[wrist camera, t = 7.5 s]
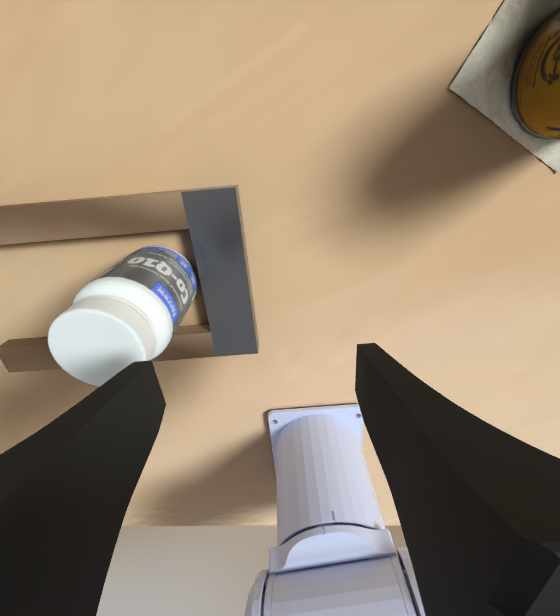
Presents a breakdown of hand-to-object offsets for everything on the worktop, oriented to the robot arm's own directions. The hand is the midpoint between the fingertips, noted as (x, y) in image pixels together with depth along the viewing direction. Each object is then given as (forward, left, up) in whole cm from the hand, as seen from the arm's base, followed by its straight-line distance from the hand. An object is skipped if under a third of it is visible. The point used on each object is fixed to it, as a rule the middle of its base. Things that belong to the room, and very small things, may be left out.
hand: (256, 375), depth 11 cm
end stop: (0, +3, -10) cm, 11 cm away
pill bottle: (0, +7, -11) cm, 13 cm away
